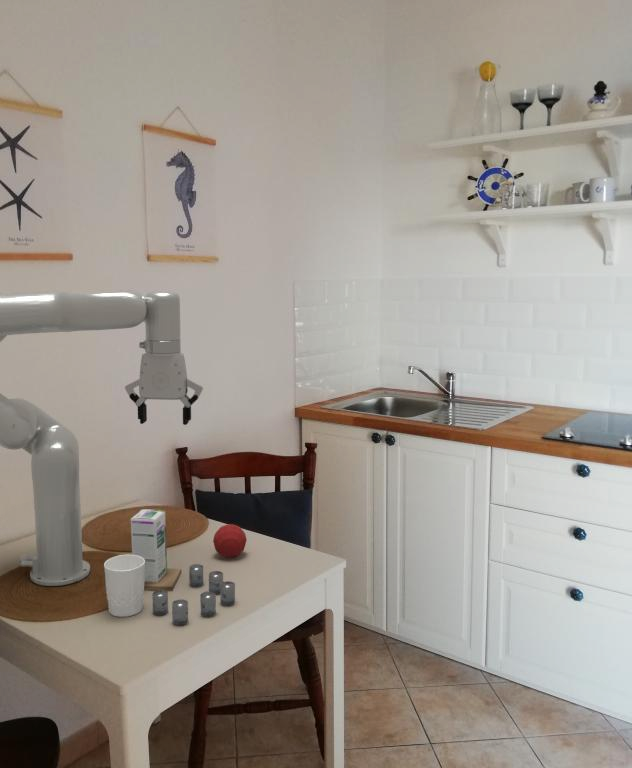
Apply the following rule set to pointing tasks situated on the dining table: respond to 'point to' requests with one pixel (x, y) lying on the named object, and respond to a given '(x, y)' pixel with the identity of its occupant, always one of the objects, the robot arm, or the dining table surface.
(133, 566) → the white cup
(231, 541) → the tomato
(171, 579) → the tan board
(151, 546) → the syrup box
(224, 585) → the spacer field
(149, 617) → the dining table surface
